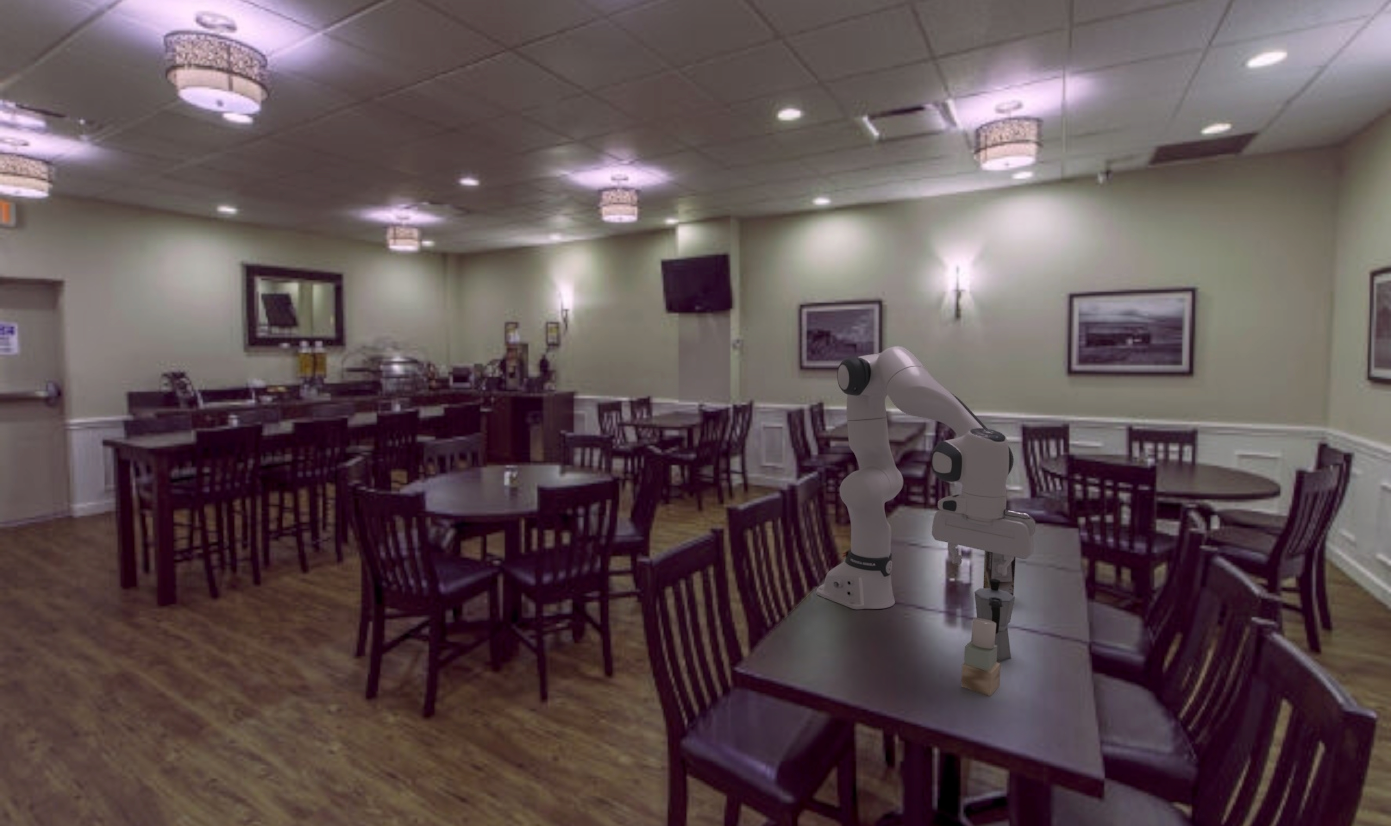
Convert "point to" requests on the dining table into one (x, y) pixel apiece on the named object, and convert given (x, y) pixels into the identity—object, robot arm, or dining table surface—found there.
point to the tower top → (980, 656)
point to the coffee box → (991, 570)
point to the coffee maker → (996, 614)
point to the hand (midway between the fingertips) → (978, 568)
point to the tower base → (981, 679)
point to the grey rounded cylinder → (983, 633)
